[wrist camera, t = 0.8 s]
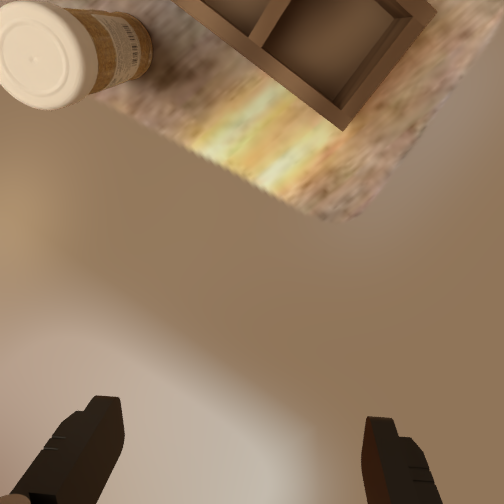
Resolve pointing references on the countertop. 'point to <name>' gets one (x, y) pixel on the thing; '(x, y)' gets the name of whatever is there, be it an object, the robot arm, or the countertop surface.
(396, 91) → the countertop surface
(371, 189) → the countertop surface
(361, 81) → the spice caddy
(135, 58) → the sprinkles bottle
